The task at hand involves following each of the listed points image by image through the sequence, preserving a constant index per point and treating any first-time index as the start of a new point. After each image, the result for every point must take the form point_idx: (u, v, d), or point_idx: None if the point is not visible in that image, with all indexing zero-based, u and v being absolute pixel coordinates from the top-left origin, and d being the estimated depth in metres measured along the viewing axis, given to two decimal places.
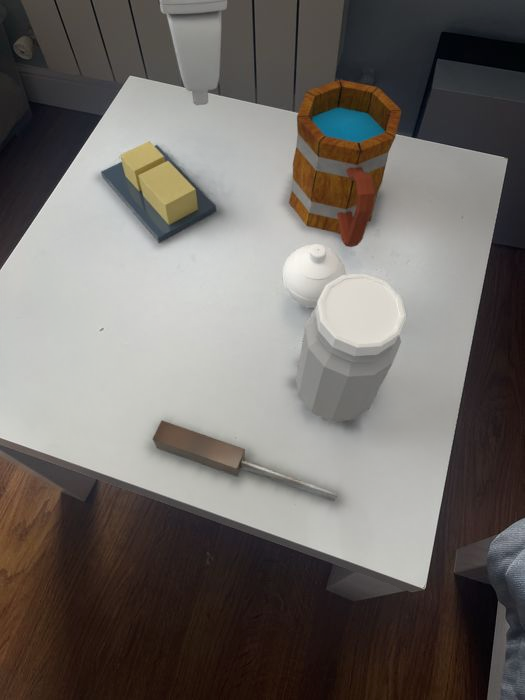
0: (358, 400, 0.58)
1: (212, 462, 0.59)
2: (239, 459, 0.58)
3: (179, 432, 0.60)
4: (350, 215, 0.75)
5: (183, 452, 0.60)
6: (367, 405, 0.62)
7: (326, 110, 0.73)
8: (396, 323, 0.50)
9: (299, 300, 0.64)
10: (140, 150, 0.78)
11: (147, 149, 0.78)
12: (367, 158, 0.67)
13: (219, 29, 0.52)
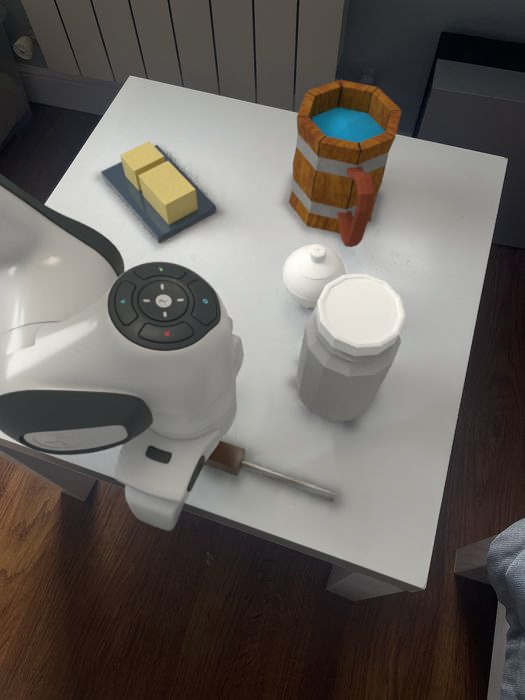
0: (358, 400, 0.58)
1: (212, 462, 0.59)
2: (239, 459, 0.58)
3: None
4: (350, 215, 0.75)
5: None
6: (367, 405, 0.62)
7: (326, 110, 0.73)
8: (396, 323, 0.50)
9: (299, 300, 0.64)
10: (140, 150, 0.78)
11: (147, 149, 0.78)
12: (367, 158, 0.67)
13: (172, 512, 0.46)
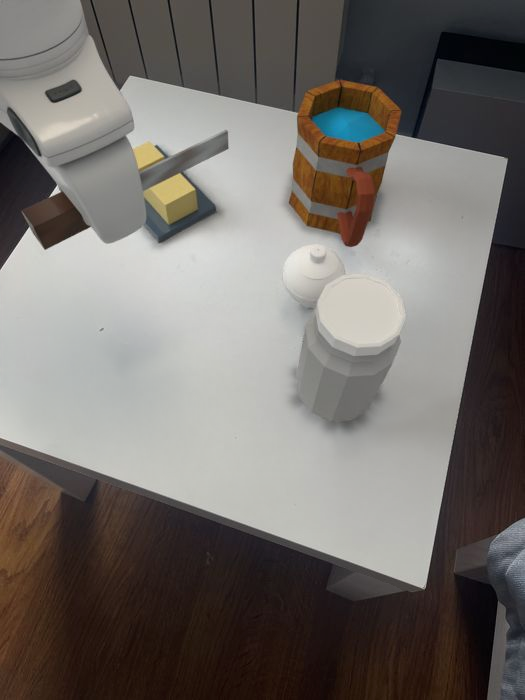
0: (358, 400, 0.58)
1: None
2: None
3: (50, 202, 0.47)
4: (350, 215, 0.75)
5: (74, 216, 0.48)
6: (367, 405, 0.62)
7: (326, 110, 0.73)
8: (396, 323, 0.50)
9: (299, 300, 0.64)
10: (140, 150, 0.78)
11: (147, 149, 0.78)
12: (367, 158, 0.67)
13: (134, 158, 0.37)
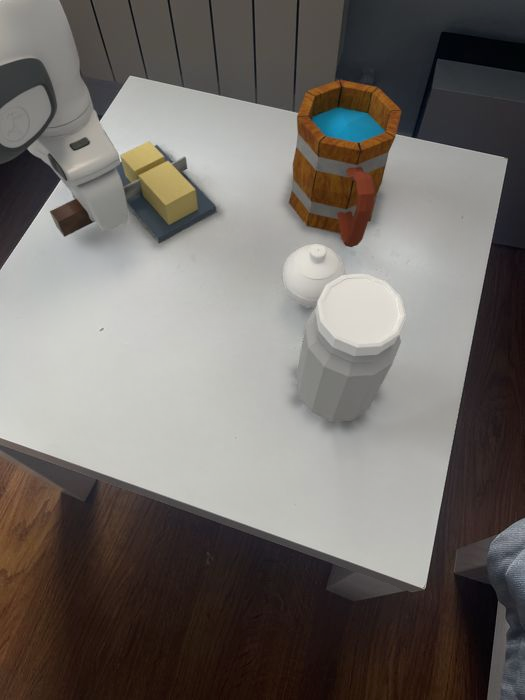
0: (358, 400, 0.58)
1: None
2: None
3: (68, 205, 0.73)
4: (350, 215, 0.75)
5: (83, 214, 0.73)
6: (367, 405, 0.62)
7: (326, 110, 0.73)
8: (396, 323, 0.50)
9: (299, 300, 0.64)
10: (140, 150, 0.78)
11: (147, 149, 0.78)
12: (367, 158, 0.67)
13: (120, 180, 0.62)
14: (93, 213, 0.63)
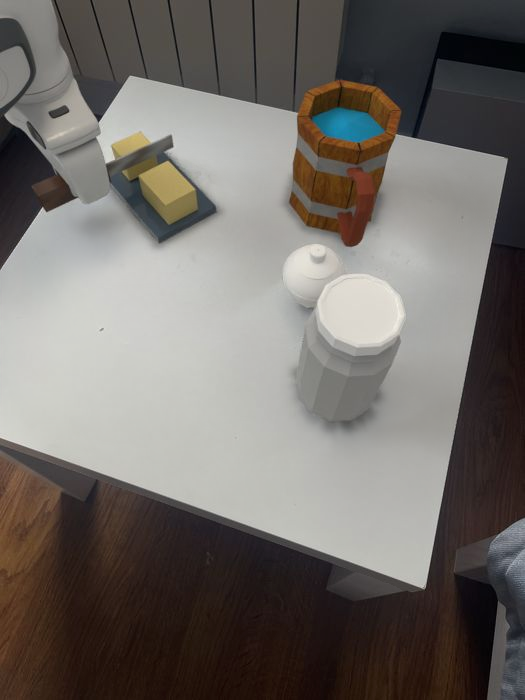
0: (358, 400, 0.58)
1: None
2: None
3: (50, 180, 0.72)
4: (350, 215, 0.75)
5: (66, 190, 0.73)
6: (367, 405, 0.62)
7: (326, 110, 0.73)
8: (396, 323, 0.50)
9: (299, 300, 0.64)
10: (131, 140, 0.79)
11: (138, 139, 0.79)
12: (367, 158, 0.67)
13: (100, 150, 0.62)
14: (73, 184, 0.62)
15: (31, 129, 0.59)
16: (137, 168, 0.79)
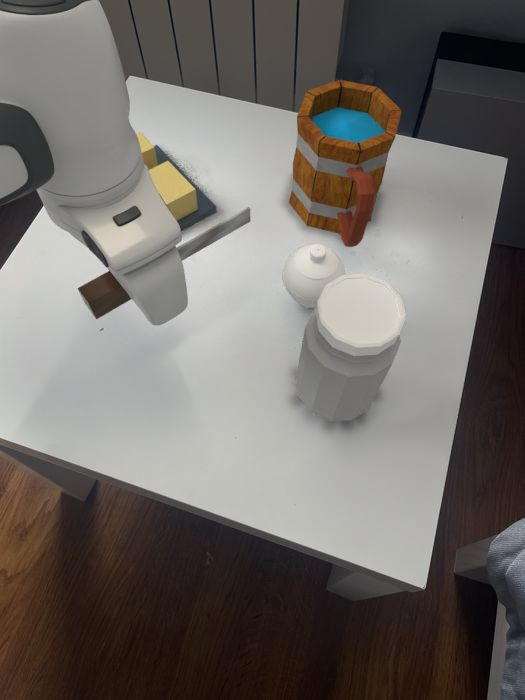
0: (358, 400, 0.58)
1: None
2: None
3: (102, 279, 0.55)
4: (350, 215, 0.75)
5: (122, 291, 0.56)
6: (367, 405, 0.62)
7: (326, 110, 0.73)
8: (396, 323, 0.50)
9: (299, 300, 0.64)
10: None
11: (138, 139, 0.79)
12: (367, 158, 0.67)
13: (181, 262, 0.45)
14: (142, 307, 0.45)
15: (88, 240, 0.42)
16: None
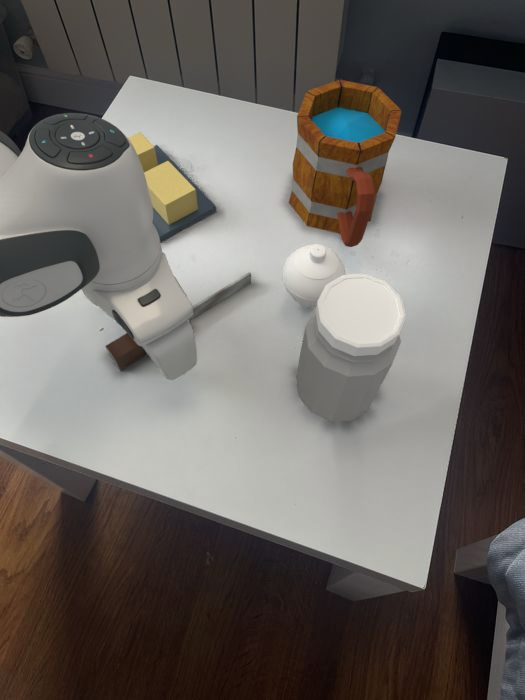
0: (358, 400, 0.58)
1: None
2: None
3: (125, 338, 0.65)
4: (350, 215, 0.75)
5: (142, 347, 0.66)
6: (367, 405, 0.62)
7: (326, 110, 0.73)
8: (396, 323, 0.50)
9: (299, 300, 0.64)
10: (131, 140, 0.79)
11: (138, 139, 0.79)
12: (367, 158, 0.67)
13: (192, 331, 0.54)
14: (160, 367, 0.55)
15: (117, 317, 0.51)
16: None
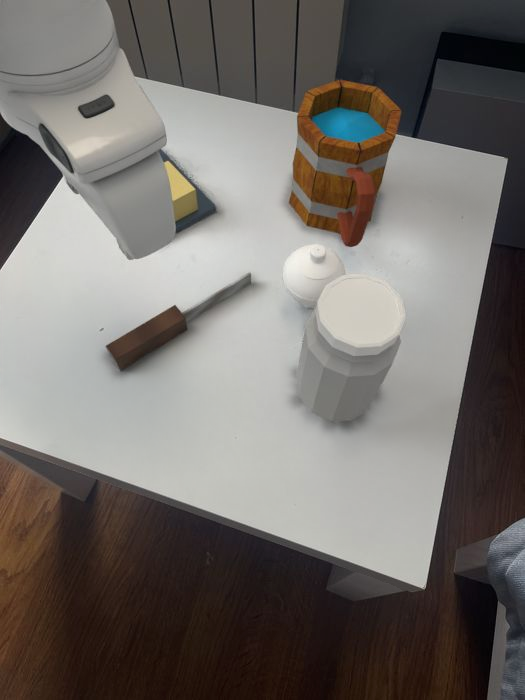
0: (358, 400, 0.58)
1: (166, 332, 0.67)
2: (179, 312, 0.67)
3: (125, 338, 0.65)
4: (350, 215, 0.75)
5: (142, 347, 0.66)
6: (367, 405, 0.62)
7: (326, 110, 0.73)
8: (396, 323, 0.50)
9: (299, 300, 0.64)
10: None
11: None
12: (367, 158, 0.67)
13: (166, 173, 0.36)
14: (118, 230, 0.36)
15: (47, 138, 0.33)
16: None
